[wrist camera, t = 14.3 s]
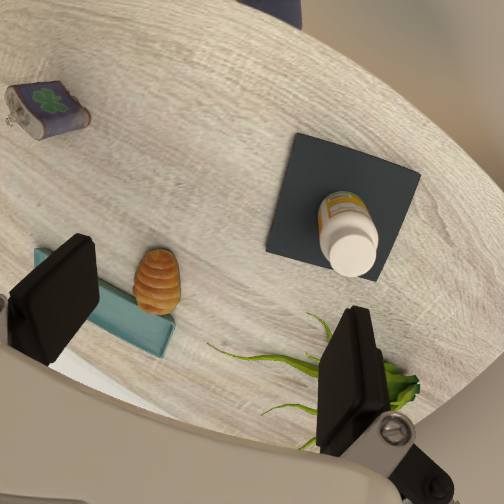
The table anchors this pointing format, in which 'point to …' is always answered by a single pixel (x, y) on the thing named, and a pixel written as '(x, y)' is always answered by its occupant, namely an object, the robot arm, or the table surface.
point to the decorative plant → (398, 384)
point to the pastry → (157, 283)
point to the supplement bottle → (347, 234)
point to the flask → (45, 109)
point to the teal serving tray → (126, 317)
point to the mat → (335, 180)
